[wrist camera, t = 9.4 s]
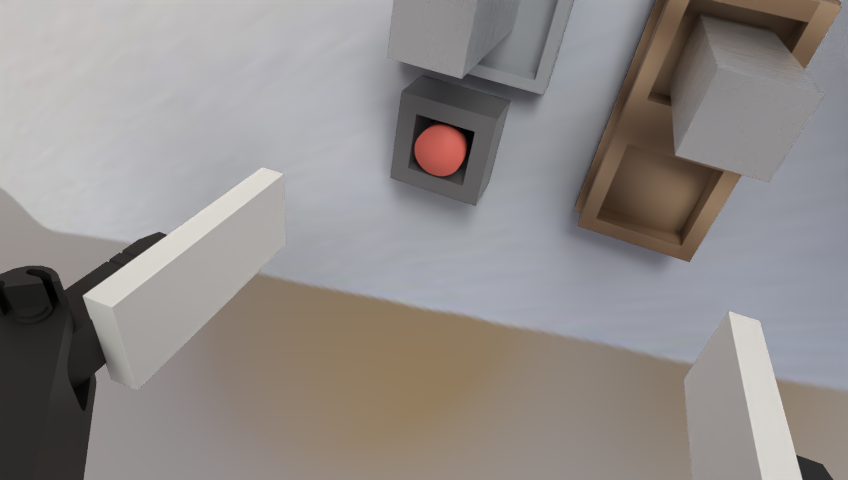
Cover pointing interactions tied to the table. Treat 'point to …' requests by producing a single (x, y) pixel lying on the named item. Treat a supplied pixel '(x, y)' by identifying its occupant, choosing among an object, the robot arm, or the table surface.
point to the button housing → (456, 109)
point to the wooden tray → (653, 129)
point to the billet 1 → (448, 32)
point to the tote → (528, 46)
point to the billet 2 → (739, 97)
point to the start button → (441, 149)
